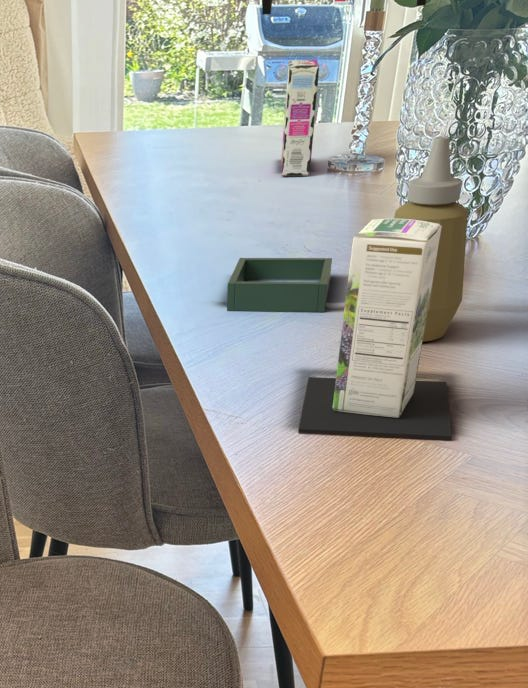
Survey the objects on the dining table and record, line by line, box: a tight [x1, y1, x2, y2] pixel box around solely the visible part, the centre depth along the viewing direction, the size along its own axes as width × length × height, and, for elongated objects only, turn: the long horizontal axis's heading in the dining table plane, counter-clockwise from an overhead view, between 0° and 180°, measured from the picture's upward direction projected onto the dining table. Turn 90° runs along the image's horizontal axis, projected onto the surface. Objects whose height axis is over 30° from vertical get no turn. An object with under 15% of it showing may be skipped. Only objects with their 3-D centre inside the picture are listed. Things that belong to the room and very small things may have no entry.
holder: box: [226, 257, 333, 313], centre depth 112 cm, size 11×11×3 cm
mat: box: [297, 376, 453, 441], centre depth 85 cm, size 12×12×1 cm
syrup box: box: [332, 218, 442, 418], centre depth 81 cm, size 6×6×14 cm
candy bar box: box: [280, 59, 320, 177], centre depth 167 cm, size 11×5×16 cm, turn 169°
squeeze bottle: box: [393, 136, 469, 343], centre depth 95 cm, size 8×8×18 cm
